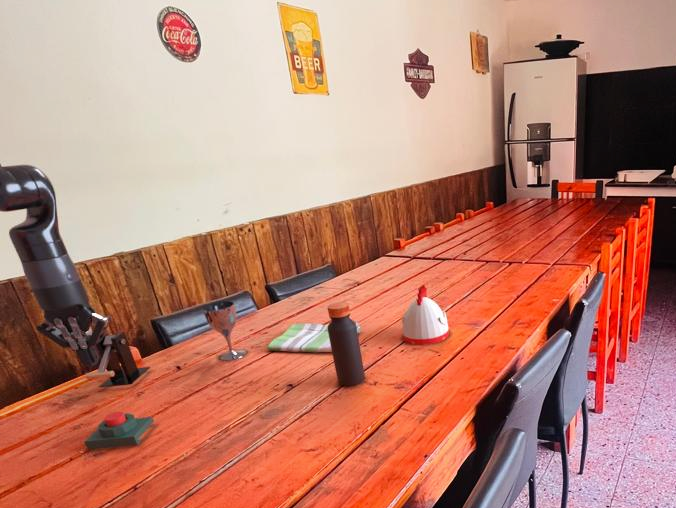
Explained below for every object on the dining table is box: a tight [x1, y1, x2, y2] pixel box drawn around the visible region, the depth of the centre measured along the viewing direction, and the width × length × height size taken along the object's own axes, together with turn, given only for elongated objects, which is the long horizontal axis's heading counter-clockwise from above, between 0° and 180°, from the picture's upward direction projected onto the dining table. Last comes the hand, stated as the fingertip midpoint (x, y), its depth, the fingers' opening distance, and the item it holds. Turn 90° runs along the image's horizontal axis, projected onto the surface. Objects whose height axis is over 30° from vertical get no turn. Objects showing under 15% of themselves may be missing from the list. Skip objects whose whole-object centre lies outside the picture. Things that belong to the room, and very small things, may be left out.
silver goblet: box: [202, 300, 247, 361], centre depth 144 cm, size 8×8×15 cm
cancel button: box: [103, 411, 126, 427], centre depth 108 cm, size 4×4×2 cm
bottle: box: [327, 301, 366, 387], centre depth 124 cm, size 7×7×20 cm
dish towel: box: [266, 321, 362, 353], centre depth 153 cm, size 17×23×4 cm
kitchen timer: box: [401, 284, 450, 346], centre depth 150 cm, size 14×14×15 cm
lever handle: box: [85, 334, 116, 380], centre depth 129 cm, size 12×6×2 cm
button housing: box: [83, 413, 155, 451], centre depth 109 cm, size 10×8×4 cm
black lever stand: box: [95, 331, 150, 388], centre depth 133 cm, size 10×8×13 cm
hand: (91, 364), depth 103 cm, fingers closed
